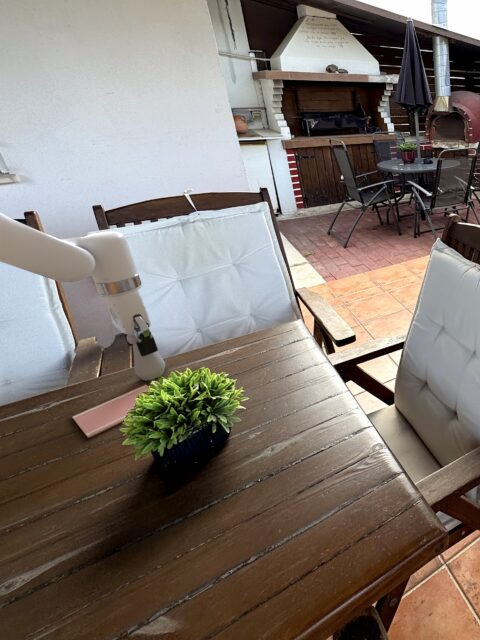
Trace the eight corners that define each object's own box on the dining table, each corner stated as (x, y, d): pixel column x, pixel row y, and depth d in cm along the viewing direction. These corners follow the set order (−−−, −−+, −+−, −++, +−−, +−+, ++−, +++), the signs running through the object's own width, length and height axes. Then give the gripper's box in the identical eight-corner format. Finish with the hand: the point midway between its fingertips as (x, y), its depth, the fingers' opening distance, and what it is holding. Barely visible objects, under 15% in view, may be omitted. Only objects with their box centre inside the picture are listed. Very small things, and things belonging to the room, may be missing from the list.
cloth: (88, 438, 83) (87, 436, 83) (72, 418, 89) (71, 416, 88) (164, 402, 93) (164, 400, 93) (146, 385, 99) (145, 384, 99)
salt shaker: (171, 373, 103) (156, 330, 99) (143, 385, 99) (126, 340, 94) (162, 366, 106) (147, 323, 102) (134, 377, 102) (117, 333, 97)
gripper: (85, 281, 95) (111, 345, 101) (110, 299, 86) (137, 367, 92) (126, 271, 101) (148, 332, 107) (153, 287, 92) (175, 351, 98)
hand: (143, 347), depth 100 cm, fingers open, 7 cm apart
